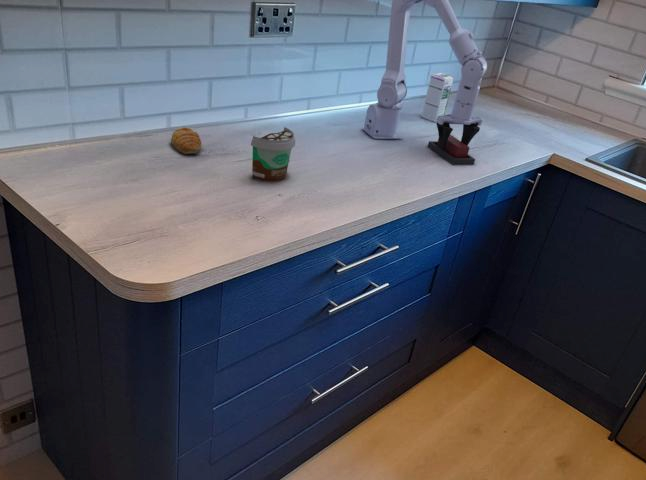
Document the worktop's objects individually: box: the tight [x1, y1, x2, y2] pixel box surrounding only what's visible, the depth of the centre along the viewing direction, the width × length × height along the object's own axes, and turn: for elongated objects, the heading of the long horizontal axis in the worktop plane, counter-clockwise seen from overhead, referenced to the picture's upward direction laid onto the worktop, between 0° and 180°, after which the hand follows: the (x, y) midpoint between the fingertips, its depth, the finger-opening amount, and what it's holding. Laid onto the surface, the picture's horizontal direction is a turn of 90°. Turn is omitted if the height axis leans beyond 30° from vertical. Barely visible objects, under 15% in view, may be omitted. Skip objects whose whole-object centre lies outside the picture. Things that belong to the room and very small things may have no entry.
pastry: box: [170, 126, 202, 155], centre depth 142 cm, size 9×7×4 cm
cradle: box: [427, 140, 476, 166], centre depth 174 cm, size 8×14×2 cm, turn 26°
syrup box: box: [421, 72, 454, 123], centre depth 199 cm, size 6×6×14 cm
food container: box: [250, 126, 296, 183], centre depth 135 cm, size 12×6×10 cm, turn 148°
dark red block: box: [437, 134, 471, 158], centre depth 173 cm, size 4×10×4 cm, turn 26°
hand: (452, 148), depth 173 cm, fingers open, 7 cm apart
